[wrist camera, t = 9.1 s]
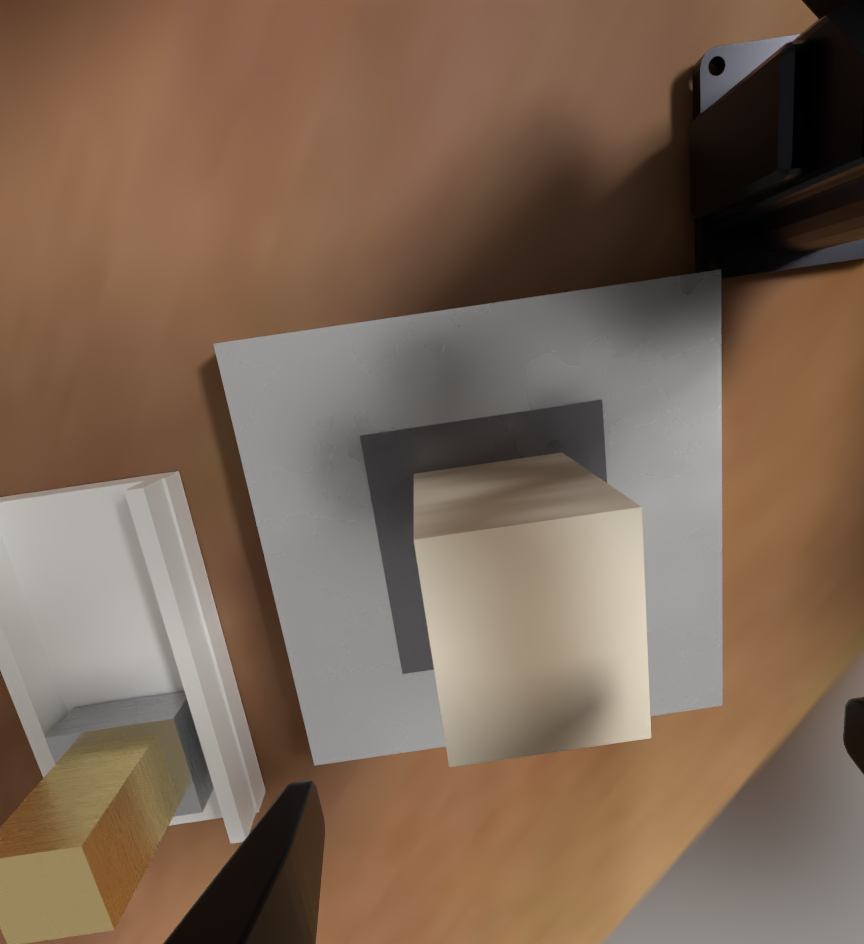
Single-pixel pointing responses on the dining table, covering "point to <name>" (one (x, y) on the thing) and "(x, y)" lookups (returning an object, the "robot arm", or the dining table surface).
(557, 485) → the block
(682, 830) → the dining table surface
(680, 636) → the plate
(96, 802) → the lever
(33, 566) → the rail
